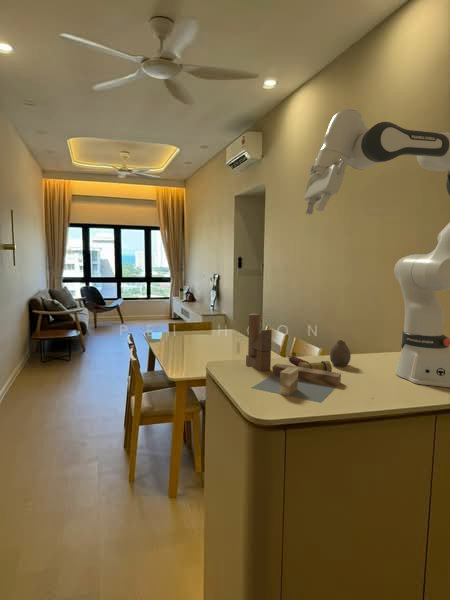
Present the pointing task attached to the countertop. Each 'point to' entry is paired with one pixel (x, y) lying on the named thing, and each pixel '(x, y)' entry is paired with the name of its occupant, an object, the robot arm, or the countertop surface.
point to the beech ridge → (288, 381)
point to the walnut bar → (311, 375)
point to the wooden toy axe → (258, 345)
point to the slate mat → (304, 389)
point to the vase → (340, 354)
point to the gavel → (311, 364)
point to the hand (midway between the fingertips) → (313, 212)
